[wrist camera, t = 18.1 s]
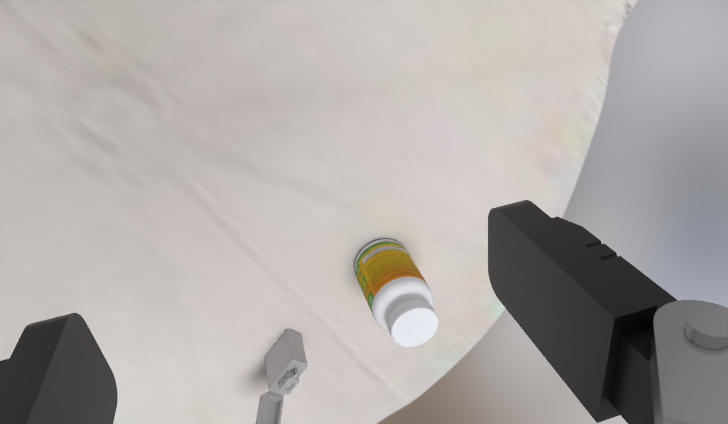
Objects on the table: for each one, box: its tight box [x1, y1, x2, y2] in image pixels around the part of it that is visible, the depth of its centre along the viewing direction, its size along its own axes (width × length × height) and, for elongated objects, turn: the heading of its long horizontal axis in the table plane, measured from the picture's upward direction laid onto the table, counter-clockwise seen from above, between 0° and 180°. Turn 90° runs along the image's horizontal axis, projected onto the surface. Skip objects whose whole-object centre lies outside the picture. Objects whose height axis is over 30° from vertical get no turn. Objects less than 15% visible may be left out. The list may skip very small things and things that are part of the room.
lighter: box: [256, 329, 307, 424], centre depth 46 cm, size 7×2×8 cm, turn 142°
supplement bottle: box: [354, 239, 438, 347], centre depth 44 cm, size 5×5×10 cm
